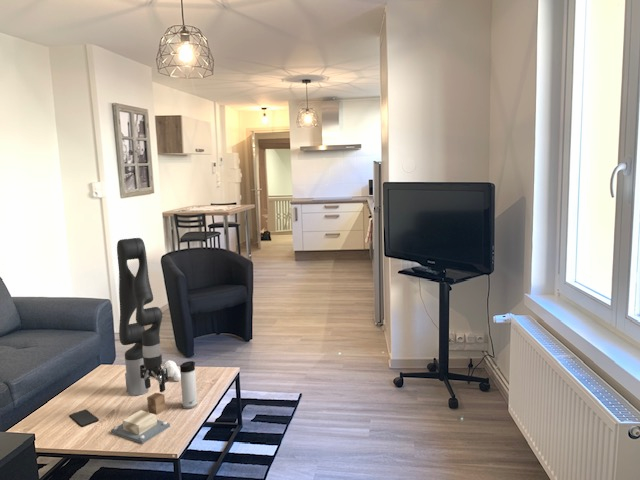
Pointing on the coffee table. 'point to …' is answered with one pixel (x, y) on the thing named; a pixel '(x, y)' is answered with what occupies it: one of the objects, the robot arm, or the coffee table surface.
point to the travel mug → (188, 384)
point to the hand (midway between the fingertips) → (155, 389)
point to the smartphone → (83, 418)
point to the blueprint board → (145, 435)
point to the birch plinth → (139, 422)
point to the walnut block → (156, 403)
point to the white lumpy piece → (172, 370)
